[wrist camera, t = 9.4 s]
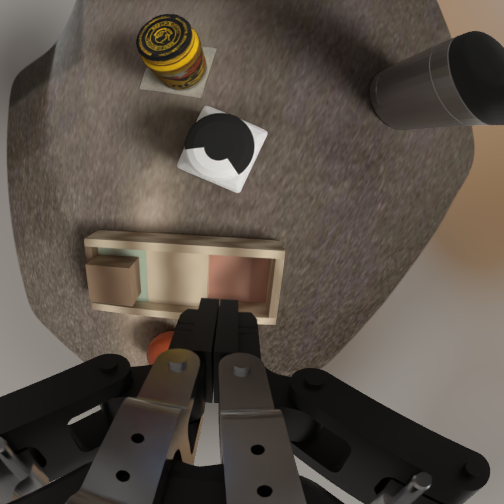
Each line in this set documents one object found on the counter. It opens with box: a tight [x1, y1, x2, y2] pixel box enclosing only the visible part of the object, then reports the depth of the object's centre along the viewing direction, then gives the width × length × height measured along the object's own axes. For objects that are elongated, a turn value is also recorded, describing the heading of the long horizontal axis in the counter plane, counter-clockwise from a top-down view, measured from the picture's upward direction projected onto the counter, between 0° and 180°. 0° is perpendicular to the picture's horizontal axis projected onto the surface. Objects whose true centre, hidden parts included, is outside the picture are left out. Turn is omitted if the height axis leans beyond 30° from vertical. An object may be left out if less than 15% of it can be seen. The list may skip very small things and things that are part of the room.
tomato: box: [147, 330, 174, 365], centre depth 39 cm, size 7×7×8 cm
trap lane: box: [84, 230, 285, 325], centre depth 37 cm, size 25×10×4 cm, turn 85°
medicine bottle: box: [177, 106, 267, 193], centre depth 29 cm, size 7×7×12 cm
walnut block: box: [85, 254, 141, 306], centre depth 34 cm, size 6×5×4 cm
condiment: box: [136, 14, 216, 98], centre depth 25 cm, size 7×8×12 cm
